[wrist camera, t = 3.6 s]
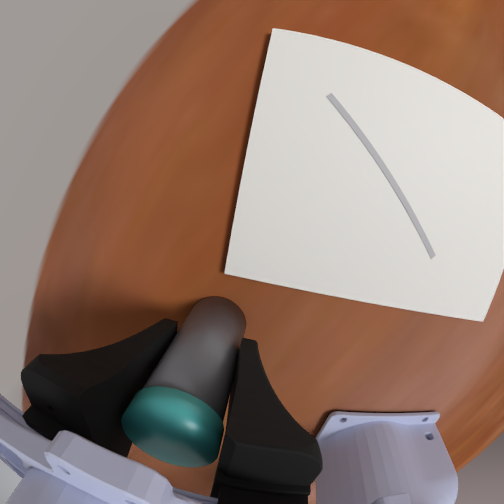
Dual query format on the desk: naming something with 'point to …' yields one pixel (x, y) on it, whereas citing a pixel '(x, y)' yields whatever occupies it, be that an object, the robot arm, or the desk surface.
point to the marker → (189, 388)
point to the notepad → (370, 182)
